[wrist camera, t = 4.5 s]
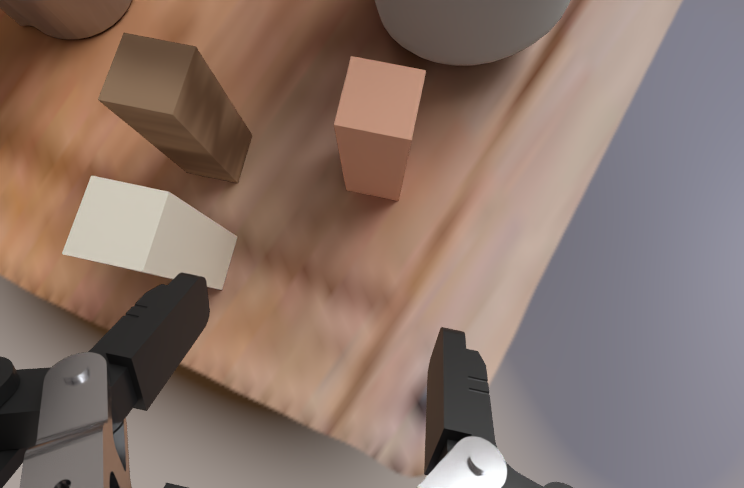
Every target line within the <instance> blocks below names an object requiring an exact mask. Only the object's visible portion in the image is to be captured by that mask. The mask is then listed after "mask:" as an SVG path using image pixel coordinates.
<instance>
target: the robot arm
mask: <svg viewBox="0 0 744 488" xmlns="http://www.w3.org/2000/svg"><path fill="white" fill-rule="evenodd" d="M131 1H132V0H0V8H1V9H2V10H3V11H4V12H5V13H7V14H8V15H9V16H10V17H11V18H12V19H14V20H15V21H16V22H17V23H18V24H19V25H21V26H26V25H29V26H34V27H35V28H37V29H39V30H40V31H42V32H43V33H45V34H47V35H50V36H52V37H55V38H61V39H81V38H86V37H91V36H93V35H96V34H98V33H101V32H103V31H104V30H106V29H108V28H109V27H111V26H112V25H114V24H115V23H116V22H117V21H118V20H119V19H120V18H121V17H122V16H123V14H124V13H125V12H126V10H127V9H128V7H129V5H130V3H131ZM209 313H210V308H209V300H208V291H207V282H206V279H205V277H202V276H197V275H192V274H188V273H183V272H182V273H179V274H178V275H177V276H176V277H175V278H174V279H173V280H172V281H171V282H170V283H169V284H168V285H164V284H161V285H159V286H157V287H155V288H154V289H152V290H150V291H148V292H146V293H145V294H144V295H143V296H142V297H141V298H140V299H139V300H138V301H137V302H136V303H135V306H133V307H132V308H131V309H130V310H129V311H128V312H127V313H126V315H125V316H123V317H122V318H121V319H120V320H119V321H118V322H117V323H116V324H115V325H114V326H113V327H112V328H111V329H110V330H109V331H108V332H107V333H106V334H105V335H104V336H103V337H102V338H101V340H100V341H99V342H98V343H97V344H96V345H95V346H94V347H93V348H92V349H91V350H90V351H89V352H84V353H78V354H74V355H71V356H68V357H66V358H64V359H63V360H61V361H59V362H58V363H56V364H55V365H54V366H52V367H51V368H38V369H22V370H16V369H15V368H14V366H13V364H12V362H11V361H10V360H9V359H7V358H4V357H0V488H2V487H3V486H4V485H5V484H6V482H7V481H8V480H9V479H10V478H11V476H12V475H13V474H14V473H15V471H16V470H17V469H18V468H19V467H20V465H21V464H22V463H23V468H22V475H21V483H20V488H132V487H131V481H130V470H129V454H128V437H127V422H126V416H127V415H128V414H129V412H130V411H131V410H132V408H136V409H141V410H145V411H147V410H148V408H149V407H150V405H151V404H152V403H153V401H154V400H155V398H156V397H157V395H158V394H159V393H160V391H161V389H162V388H163V387H164V385H165V384H166V383H167V381H168V379H169V378H170V377H171V375H172V374H173V372H174V371H175V370H176V368H177V367H178V365H179V364H180V362H181V361H182V360H183V358H184V357H185V355H186V354H187V352H188V351H189V350H190V348H191V347H192V345H193V344H194V342H195V341H196V340H197V338H198V337H199V335H200V334H201V332H202V331H203V329H204V328H205V326H206V324H207V322H208V319H209ZM487 381H488V379H487V370H486V365H485V363H484V361H483V359H482V358H481V356H480V354H479V352H478V351H474V350H469V349H466V341H465V333H464V332H462V331H458V330H453V329H448V328H443V327H442V328H441V329H440V332H439V334H438V337H437V340H436V343H435V346H434V349H433V352H432V355H431V359H430V363H429V368H428V379H427V409H426V439H425V469H424V475H428V476H427V477H426V478H425V479H424V480H423V481H422V482H421V483H420V484H419V485H418V487H417V488H573V487H571V486H569V485H567V484H564V483H560V482H552V483H549V484H547V485H545V486H544V487H543V486H541V485H539V484H537V483H535V482H533V481H532V480H530V479H528V478H526V477H525V476H523V475H521V474H520V473H518V472H516V471H515V470H514V469H513V468H511V467H510V466H509V465H508V464H507V463H506V461H505V460H504V458H503V456H502V455H501V453H500V452H499V450H498V449H497V446H496V443H495V436H494V428H493V420H492V412H491V403H490V396H489V387H488V383H487ZM164 488H187V487H183V486H179V485H174V484H170V483H166V485H165V487H164Z"/></svg>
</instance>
